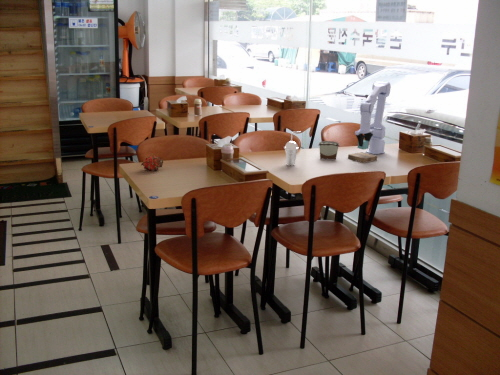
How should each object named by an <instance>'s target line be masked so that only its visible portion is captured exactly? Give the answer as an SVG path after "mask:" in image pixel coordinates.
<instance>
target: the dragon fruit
mask: <svg viewBox="0 0 500 375" xmlns="http://www.w3.org/2000/svg"><path fill="white" fill-rule="evenodd" d="M163 163H164V161H163V159H162V158H161V157H158V156H157V155H153V156H152V155H150V156H148V157H146V158H145V159H144V160H143V161H142V162H141V163H140V166H143V169H144V170H145V171H146V170H147V171H152V172H154V171H158V170H159V168H162V167H163V165H164V164H163Z"/></svg>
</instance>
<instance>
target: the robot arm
mask: <svg viewBox="0 0 500 375" xmlns="http://www.w3.org/2000/svg"><path fill="white" fill-rule="evenodd" d="M391 88H392V87H391V83H390V82H389V81H388V82H386V81H374V82H372V92H371V94H369V95H368V96H367V97H366V99H365V100H364V102H361V104H360V107H359V110H360V114H359V115H360V124H359V125H360V126H359V129H358V130H355V132H354V135H355V136H356V139H357V144H358V143H359V146H361V147H362V146H363V140H366V141H369V147H368V150H367V151H365V153H367V154H371V155H378V154H379V155H380V154H385V143H386V142H385V140H384V138H385V136H386V126H385V125H384V124H383V116H384V112H385V105H386V99H387V98H388V97H389V96H390V93H391ZM375 104H376V106H375ZM374 108H375V113H374V114H375V115H374V119H373V120H374V121H373V122H372V123H371V121H372V114H373V111H374Z"/></svg>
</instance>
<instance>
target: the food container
mask: <svg viewBox="0 0 500 375" xmlns="http://www.w3.org/2000/svg"><path fill="white" fill-rule="evenodd" d="M318 146H319V158H320V160H327V161H328V160H329V161H330V160H332V161H335V160H336V161H337V155H338V151H339V147H340V143H339V142H338V141H334V140H333V141H331V140H324V141H323V140H321V141H320V142H319V143H318Z"/></svg>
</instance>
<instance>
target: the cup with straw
mask: <svg viewBox="0 0 500 375" xmlns="http://www.w3.org/2000/svg"><path fill="white" fill-rule="evenodd" d="M298 133H302V130H300V131H299V130H297V131H291V133H290V134H291V135H290V141H287V142H286V143H285V146H283V149H284V151H285V159H286V160H285V162H286V166H287V165H294V166H295V165H296V159H297V154H298V150H299V149H300V147H299V145H298V143H297V142H295V141H293V134H298Z"/></svg>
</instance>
